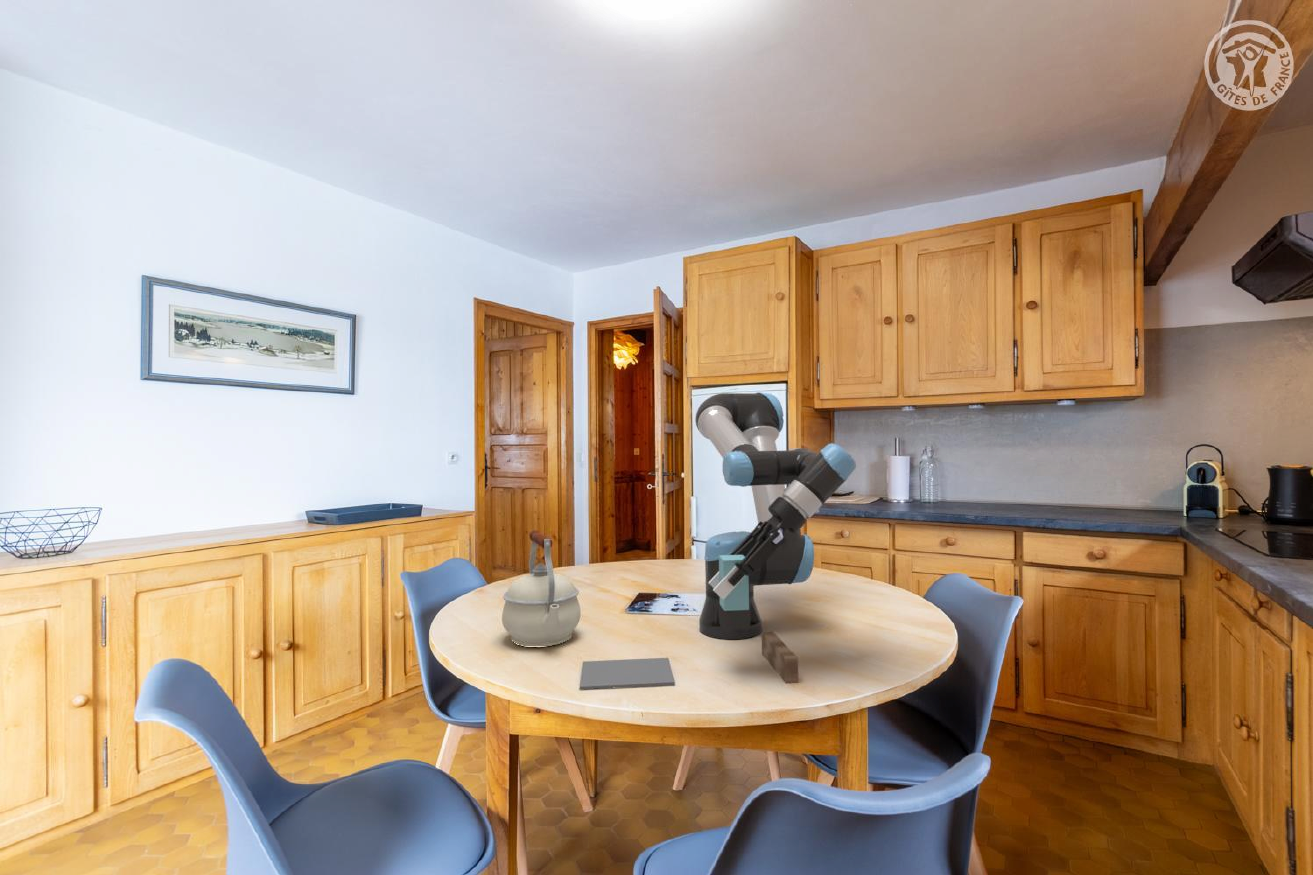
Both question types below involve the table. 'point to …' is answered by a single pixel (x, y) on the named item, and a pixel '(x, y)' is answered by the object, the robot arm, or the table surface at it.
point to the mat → (626, 673)
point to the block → (740, 593)
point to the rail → (780, 657)
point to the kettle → (541, 602)
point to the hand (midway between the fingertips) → (715, 590)
